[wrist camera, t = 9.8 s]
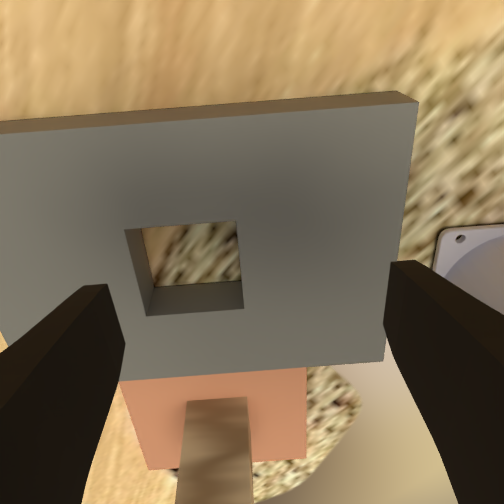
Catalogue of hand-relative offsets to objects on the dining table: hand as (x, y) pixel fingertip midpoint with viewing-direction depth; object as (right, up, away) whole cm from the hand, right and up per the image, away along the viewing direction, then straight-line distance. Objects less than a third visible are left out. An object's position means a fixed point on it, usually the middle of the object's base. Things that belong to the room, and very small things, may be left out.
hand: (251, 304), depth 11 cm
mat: (-2, -10, +18) cm, 21 cm away
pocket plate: (-3, +2, +11) cm, 12 cm away
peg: (-2, -10, +18) cm, 20 cm away
